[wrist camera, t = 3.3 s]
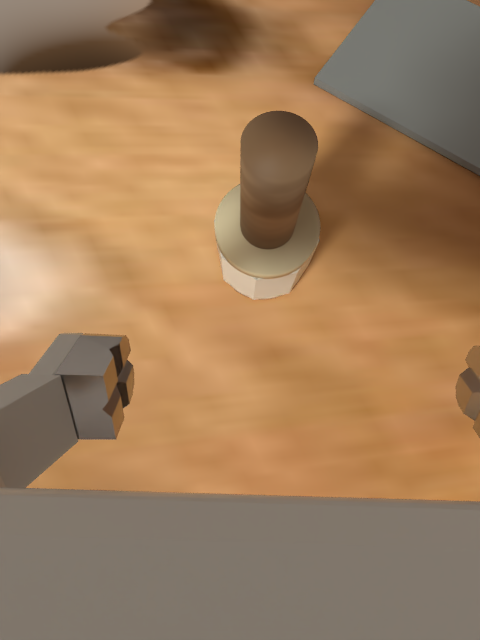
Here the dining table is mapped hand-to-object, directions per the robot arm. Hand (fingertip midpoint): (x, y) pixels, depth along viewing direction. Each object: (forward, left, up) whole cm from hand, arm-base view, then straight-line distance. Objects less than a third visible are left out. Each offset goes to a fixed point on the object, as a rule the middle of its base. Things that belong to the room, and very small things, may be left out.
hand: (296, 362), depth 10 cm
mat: (-1, +30, -17) cm, 35 cm away
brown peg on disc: (-5, +8, -12) cm, 16 cm away
